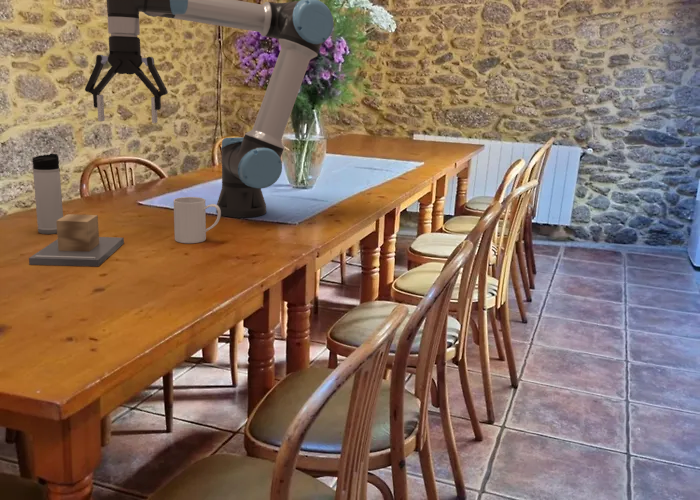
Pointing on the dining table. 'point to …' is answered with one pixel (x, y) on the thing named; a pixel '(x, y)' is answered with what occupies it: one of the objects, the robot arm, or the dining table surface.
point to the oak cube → (77, 232)
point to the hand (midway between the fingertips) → (128, 122)
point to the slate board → (77, 254)
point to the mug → (191, 219)
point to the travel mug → (47, 192)
